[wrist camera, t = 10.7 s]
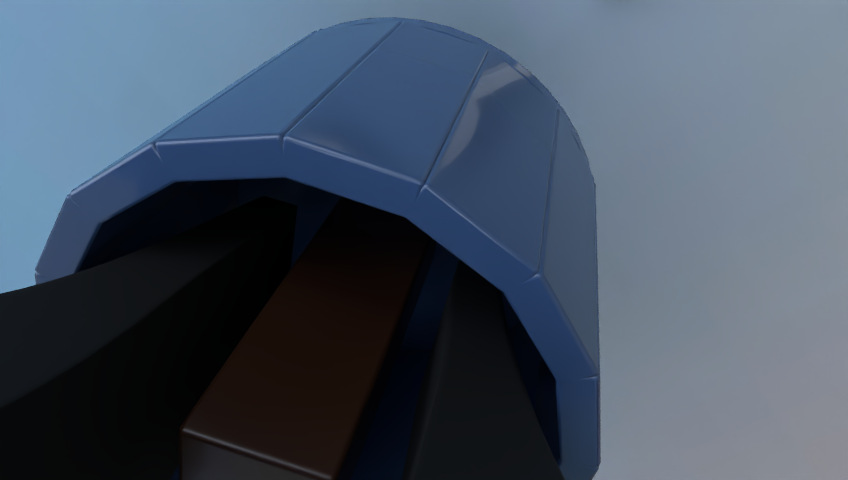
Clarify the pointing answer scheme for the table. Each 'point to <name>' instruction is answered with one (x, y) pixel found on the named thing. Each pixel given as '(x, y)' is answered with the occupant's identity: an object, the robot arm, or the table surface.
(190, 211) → the cup
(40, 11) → the table surface
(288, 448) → the dark brown square post
